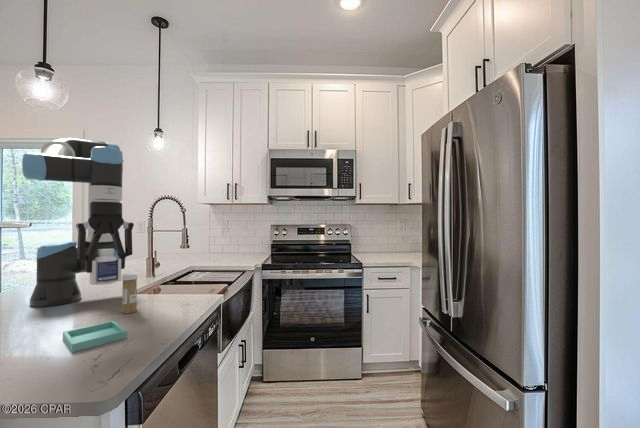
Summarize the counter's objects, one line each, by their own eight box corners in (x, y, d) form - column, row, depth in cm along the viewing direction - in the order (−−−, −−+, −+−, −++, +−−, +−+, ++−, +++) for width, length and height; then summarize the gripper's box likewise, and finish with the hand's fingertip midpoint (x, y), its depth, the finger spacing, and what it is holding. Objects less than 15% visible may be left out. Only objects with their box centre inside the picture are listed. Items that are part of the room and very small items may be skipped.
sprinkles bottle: (137, 312, 105) (137, 274, 105) (121, 314, 102) (122, 275, 102) (136, 308, 109) (137, 272, 109) (121, 310, 106) (122, 273, 106)
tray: (62, 339, 82) (62, 331, 82) (113, 326, 91) (114, 320, 91) (71, 352, 74) (71, 344, 74) (126, 337, 83) (126, 330, 83)
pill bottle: (121, 281, 87) (121, 248, 87) (103, 285, 82) (103, 250, 82) (108, 280, 89) (108, 247, 89) (89, 284, 83) (89, 249, 84)
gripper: (68, 199, 76) (67, 290, 76) (146, 202, 90) (145, 278, 90) (62, 200, 81) (60, 285, 80) (137, 203, 95) (136, 275, 95)
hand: (105, 282), depth 85 cm, fingers closed on pill bottle, 5 cm apart
